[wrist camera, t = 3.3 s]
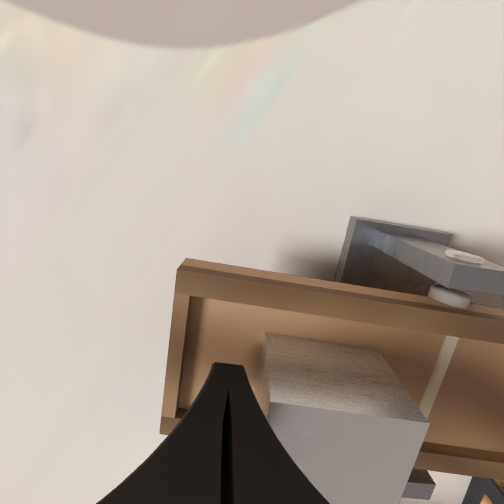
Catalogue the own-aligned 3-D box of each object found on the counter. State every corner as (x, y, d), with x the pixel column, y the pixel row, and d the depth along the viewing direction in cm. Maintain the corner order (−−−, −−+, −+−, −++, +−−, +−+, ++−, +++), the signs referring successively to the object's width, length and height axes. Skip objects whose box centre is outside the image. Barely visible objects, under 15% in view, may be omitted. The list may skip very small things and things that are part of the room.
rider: (352, 428, 14) (390, 525, 10) (249, 414, 14) (247, 508, 10) (377, 348, 13) (430, 423, 9) (265, 332, 13) (270, 401, 9)
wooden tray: (591, 460, 17) (645, 506, 14) (172, 401, 16) (158, 440, 14) (672, 322, 15) (751, 351, 12) (190, 245, 14) (177, 259, 11)
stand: (383, 398, 22) (453, 509, 15) (306, 390, 22) (340, 500, 14) (440, 231, 19) (566, 268, 12) (350, 216, 18) (422, 245, 11)
